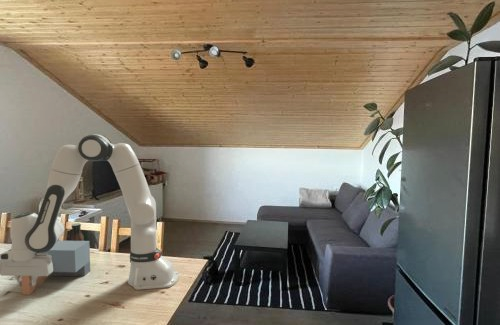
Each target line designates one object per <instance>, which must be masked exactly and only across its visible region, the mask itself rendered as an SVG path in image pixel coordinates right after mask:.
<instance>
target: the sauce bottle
mask: <svg viewBox="0 0 500 325" xmlns="http://www.w3.org/2000/svg"><path fill="white" fill-rule="evenodd" d="M81 226H82V225H81V223H80V222H78V223H72V224H71V230H72V232H71V236H70V239H69V241H85V237H84V234H83V233H82V230H81Z"/></svg>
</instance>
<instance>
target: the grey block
mask: <svg viewBox="0 0 500 325" xmlns="http://www.w3.org/2000/svg"><path fill="white" fill-rule="evenodd" d="M90 247H91V246H90V240H84V241H70V240H58V241H57V242H56V243H55V245H54V246H53V247H52V248H51V249H50V250H49V251H47V252H43V253H48V254H49V255H51V259H52V264H53V272H52V273H51V274H50V275H49V276H58V277H59V276H65V277H67V276H69V277H71V276H72V277H73V276H74V277H77V276H78V277H79V276H80V277H81V276H82V277H85V276H86V275H88V274H89V273H90V272H91V252H90V250H91V248H90Z"/></svg>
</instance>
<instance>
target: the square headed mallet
mask: <svg viewBox="0 0 500 325" xmlns="http://www.w3.org/2000/svg"><path fill="white" fill-rule="evenodd" d="M47 278H48V276H39V277H38V278H37V280H36V285H34V286H30V284H29V282H30V281H32V280H33V278H32V276H21V279H22V286H21V294H22V295H25V296H26V295H28V296H30V295H32V293H34V292H35V291H36V288H37V287H38V286H39V285H41V283H43V282H44V281H45V280H47Z"/></svg>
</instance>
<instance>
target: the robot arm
mask: <svg viewBox="0 0 500 325" xmlns="http://www.w3.org/2000/svg"><path fill="white" fill-rule="evenodd" d="M89 161H90V162H102V161H103V162H104V161H105V162H106V161H107V162H108V163H109V164H110V166H111V169H112V171H113V173H114V175H115V178H116V181H117V183H118V185H119V188H120V190H121V193H122V197H123V200H124V203H125V206H126V209H127V212H128V215H129V218H130V251H129V262H130V270H129V275H128V279H127V284H128V285H129V286H131V287H133V289H134V290H135V291H136V290H137V291H138V290H151V289H163V288H164V289H165V288H171V287H173V286H174V285H176V283H177V282H178V280H179V279H180V274H179V273H180V272H178V271H177V270H175V269H174V268H175V267H174V264H173V263H172V261H169V260H168V259H167V258H165V257H163V256H162V251H163V250H162V248H160V249H159V247H157V245H158V244H157V238H158V237H157V202H156V199H155V198H154V196H153V195H152V194H151V193H152V192H151V190H150V187H149V184H148V182H147V178H146V177H145V173H144V171H143V169H142V167H141V164H140V161H139V159H138V157H137V154H136V153H135V151H134V150H133V148H132V147H131V145H130V144H128V143H125V142H119V143H115V144H114V143H112V142H111V140H110V139H109V138H108V137H106V136H105V135H102V134H98V133H94V134H88V135H85V136H84V137H82V138H81V139H80V140H79V143H78V145H74V144H64V145H62V146H60V147H59V149H58V151H57V152H56V154H55V156H54V158H53V161H52V164H51V167H50V171H49V175H48V180H47V184H46V189H45V194H44V198H43V200H42V203H41V206H40V208H39V212H38V214H37V213H36V212H31V211H30V212H24V213H21V214H18V215H16V216H14V217H13V218H12V219H11V221H10V229H9V230H10V231H9V232H10V233H9V234H10V240H11V246H10V248H11V249H7V250H6V251H3V252H1V253H0V276H2V277H3V276H6V277H12V276H13V277H14V279H15V280H16V282H17V286H19V287H20V286H21V287H22V279H21V276H32V278H33V280H32V281H30V282H29V284H30V286H34V285H36V280H37V278H38V276H47V277H48V276H51V275H50V274H51V273H52V272H53V264H52V259H51V255H49V254H48V253H43V252H47V251H49V250H50V249H51V248H52V247H53V246H54V245H55V243H56V242H57V241H60V238H62V236H63V235H64V233H65V230H66V229H65V228H66V227H65V224H64V223H63V221H61V220H60V219H59V218H58V217H59V214H60V211H61V208H62V206H63V204H64V202H65V201H66V200H67V199H68V197H69V196H70V195H71V194H72V193H73V192H74V191H75V190H76V188H77V186H78V184H79V182H80V179H81V176H82V173H83V169H84V167H85V164H86V163H87V162H89Z"/></svg>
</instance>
